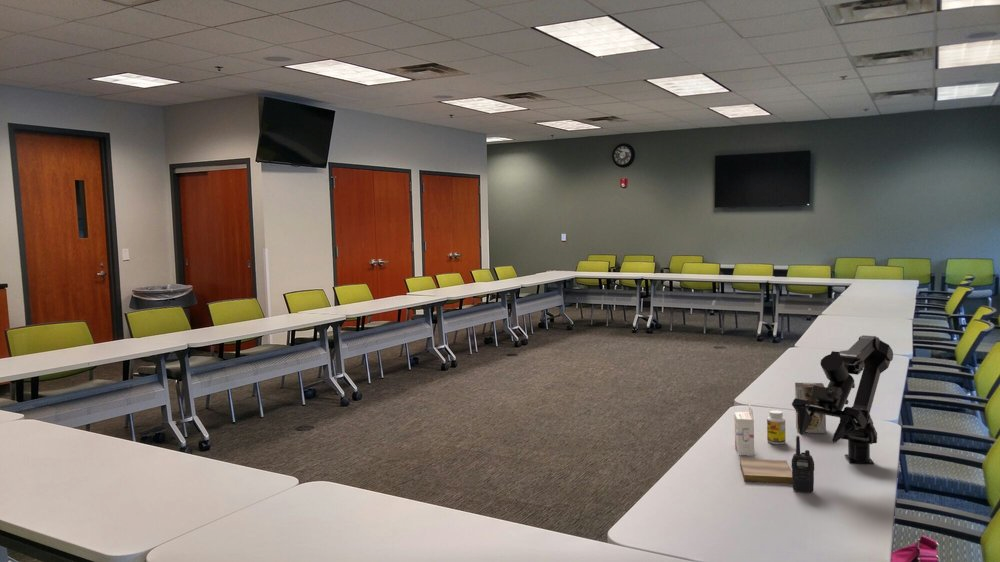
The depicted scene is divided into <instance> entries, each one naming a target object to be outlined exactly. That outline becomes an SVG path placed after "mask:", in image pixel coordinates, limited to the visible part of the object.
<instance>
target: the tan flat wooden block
mask: <svg viewBox="0 0 1000 562" xmlns="http://www.w3.org/2000/svg"><path fill="white" fill-rule="evenodd" d="M739 467H741V468H740V471H741V474H742V478H743V481H744V483H756V484H757V483H758V484H775V485H777V484H778V485H793V482H792V468H791V467H790V465H789V463H788V461H787V460H783V459H781V460H780V459H763V458H761V459H759V458H757V459H756V458H739Z"/></svg>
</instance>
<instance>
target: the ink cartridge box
mask: <svg viewBox="0 0 1000 562" xmlns="http://www.w3.org/2000/svg"><path fill="white" fill-rule="evenodd" d="M747 403H748V402H747ZM747 406H748V411H734V412H733V414H734V415H733V416H734V447H736V448H735V449H737V450H736V451H737V455H738V454H739V455H740V456H741V455H747V456H746V457H748V456H749V457H750V456H753V457H755V425H754V413H753V408H752V406H751V405H750V403H748V405H747ZM739 455H738V456H739Z"/></svg>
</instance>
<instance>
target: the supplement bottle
mask: <svg viewBox="0 0 1000 562" xmlns="http://www.w3.org/2000/svg"><path fill="white" fill-rule="evenodd" d="M783 416H784V415H783V411H781V410H770V411H769V416H768V417H767V418H766V426H767V427H766V429H767V430H766V432H767V433H766V437H767V443H770V444H773V445H783V444H785V443H786V440H787V439H786V438H787V437H786V418H785V417H783Z"/></svg>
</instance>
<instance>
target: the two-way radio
mask: <svg viewBox="0 0 1000 562" xmlns="http://www.w3.org/2000/svg"><path fill="white" fill-rule="evenodd" d="M800 440H801V439H800V435H796V438H795V443H796V444H795V453H794V454H793V455H792V459H791V471H792V482H793V484H792V490H793V491H795V492H800V493H805V494H806V493H807V494H813V492H814V489H815V487H814V483H815V477H814V476H815V472H814V471H815V461H814V458H813V455H811V453H810V450H808V449H806V450H804V452H801V441H800Z"/></svg>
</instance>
